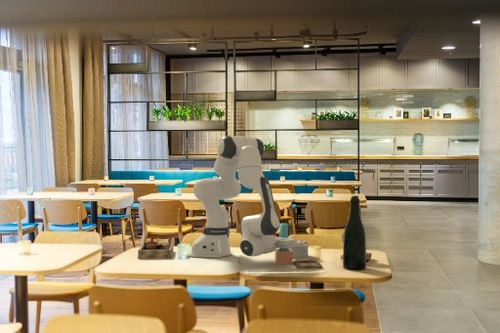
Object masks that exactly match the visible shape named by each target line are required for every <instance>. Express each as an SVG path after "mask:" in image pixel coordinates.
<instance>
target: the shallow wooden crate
mask: <svg viewBox="0 0 500 333" xmlns="http://www.w3.org/2000/svg"><path fill="white" fill-rule="evenodd" d="M161 244H162V245H164V250H142V249H143V246H144V243H143V244H141V246H140V247H139V248H138V250H137V258H138V259H139V260H141V259H171V258H172V256H173V254H174V244H173V243H167V244H165V243H161ZM158 245H160V243H158ZM161 248H162V247H161Z"/></svg>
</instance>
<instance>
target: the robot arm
mask: <svg viewBox="0 0 500 333" xmlns="http://www.w3.org/2000/svg"><path fill="white" fill-rule="evenodd" d="M217 150H218V153H217V155H216V156H217V157H216V159H215V162H214V165H213V169H214V170H213V171H214V172H215V174H216V176H218V177H207V178H202V179H201V178H200V179H198V180H196V181H195V182H194V184H193V187H192V189H193V195H194V196H195V198H196V199H197V200H199V201H200V202H201V204H202V205H203V207H204V210H205V215H206V216H205V217H206V219H205V220H206V226H202V227H201V230H202V234H201V235H200V236H199V237H197V238H196V239H195V240H194V241H193V242H192V244H191V249H190V251H191V252H190V256H188V257H193V258H221V257H228V256H231V255H232V251H231V246H230V239H229V238H230V226H229V212H228V210H227V209H226V208H225V207H223V206H221V204H220V200H230V199H234V198H237V197H238V196H240V193H241V191H242V186H243V187H245V188H247V189H249V190H253V191H257V193H258V194H259V195H260V200H261V205H262V212H261V213H257V214H252V215H246V216H243V218H242V219H241V221H240V224H239V231H240V235H241V240H240V243H239V248H240V249H239V250H240V251H241V253H242V254H243V255H245V256H247V257H258V256H261V255H262V256H263V255H266V254H271V253H273V252H275V249H279V248H292V247H295V246H296V240H297V239H295V238H290V237H288V238H282V237H280V236H275V235H276V233H277V232H278V230H280V224H281V223H280V222H281V221H280V218H279V216H278V213H277V210H276V205H275V200H274V196H273V191H272V186H271V183H270V180H269V179H268V178H267V177H265V175H264V173H263V165H262V164H263V163H262V156H264V151H265V146H264V143H263V140H261V139H259V138H256V137H251V136H250V137H249V136H243V135H242V136H239V135H238V136H231V135H225V136H222V137H221V138H220V139H219V142H218V146H217ZM236 173H237V177H238V179H237V178H236Z"/></svg>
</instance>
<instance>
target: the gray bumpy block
mask: <svg viewBox="0 0 500 333" xmlns="http://www.w3.org/2000/svg"><path fill="white" fill-rule="evenodd" d="M295 240H296V246H295V247H292V248H288V249H291V250H292V251H293V260H295V259H297V260H307V259H308V257H309V244H308V241H307V240H302V239H299V240H297V239H295Z"/></svg>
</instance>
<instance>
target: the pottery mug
mask: <svg viewBox="0 0 500 333" xmlns="http://www.w3.org/2000/svg"><path fill="white" fill-rule="evenodd" d="M143 244H144V246H143V249H142V250H164V245H162V244H163V243H161V244H160V243H158V242H157V241H147V242H145V243H143ZM158 244H160V245H158ZM161 247H162V248H161Z"/></svg>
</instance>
